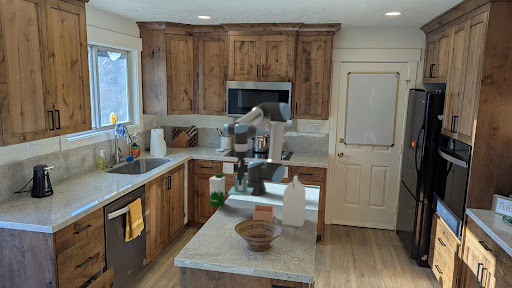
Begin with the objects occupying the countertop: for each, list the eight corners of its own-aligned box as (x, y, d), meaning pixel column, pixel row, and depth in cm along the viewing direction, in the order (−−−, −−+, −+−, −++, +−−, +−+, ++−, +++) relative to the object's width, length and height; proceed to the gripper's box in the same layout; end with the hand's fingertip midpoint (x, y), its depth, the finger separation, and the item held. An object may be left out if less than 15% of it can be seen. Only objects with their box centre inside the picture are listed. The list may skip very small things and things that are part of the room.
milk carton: (226, 204, 225) (226, 173, 222) (220, 208, 217) (220, 177, 214) (214, 202, 228) (214, 172, 225) (207, 206, 220) (207, 175, 217)
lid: (232, 188, 215) (232, 174, 213) (253, 189, 213) (253, 175, 211) (227, 194, 202) (227, 179, 201) (249, 195, 200) (250, 181, 199)
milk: (302, 226, 191) (304, 180, 187) (281, 224, 194) (283, 178, 190) (305, 219, 202) (307, 175, 198) (285, 216, 205) (287, 173, 201)
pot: (255, 216, 206) (255, 204, 205) (274, 217, 204) (274, 206, 203) (252, 223, 195) (252, 211, 194) (272, 224, 193) (272, 212, 192)
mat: (230, 207, 218) (230, 206, 218) (255, 209, 216) (255, 208, 216) (224, 217, 203) (224, 216, 203) (251, 219, 200) (251, 218, 200)
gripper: (237, 147, 211) (237, 185, 215) (231, 152, 196) (231, 193, 200) (249, 148, 210) (249, 186, 214) (245, 153, 195) (244, 194, 199)
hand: (240, 189), depth 207 cm, fingers closed on lid, 2 cm apart
